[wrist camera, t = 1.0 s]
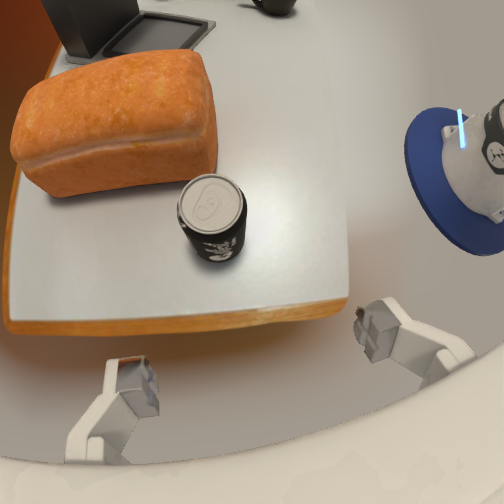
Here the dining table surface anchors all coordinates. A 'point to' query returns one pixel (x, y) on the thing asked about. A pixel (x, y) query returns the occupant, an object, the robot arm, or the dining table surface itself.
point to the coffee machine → (119, 29)
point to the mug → (276, 6)
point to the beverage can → (213, 216)
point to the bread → (118, 124)
